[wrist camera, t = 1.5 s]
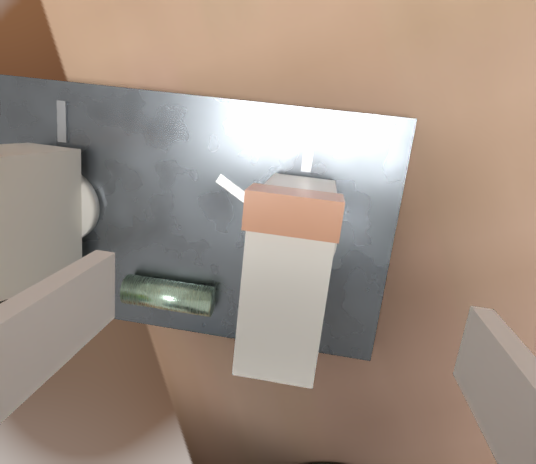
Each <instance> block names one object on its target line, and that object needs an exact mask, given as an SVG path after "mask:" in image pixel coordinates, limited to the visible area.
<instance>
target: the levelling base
mask: <svg viewBox="0 0 536 464" xmlns="http://www.w3.org/2000/svg"><path fill="white" fill-rule="evenodd" d="M416 122H417V119H414V118H404V117H395V116H385V115H376V114H367V113H357V112H348V111H338V110H329V109H320V108H310V107H301V106H291V105H282V104H273V103H263V102H254V101H245V100H235V99H226V98H216V97H207V96H198V95H188V94H179V93H169V92H160V91H151V90H141V89H132V88H122V87H113V86H104V85H94V84H85V83H75V82H66V81H57V80H47V79H38V78H28V77H18V76H9V75H0V144H13V143H35V144H43V145H51V146H60V147H68V148H76V149H81V175H82V176H84V177H85V178H86V179H87V180H88V181H89V182H90V184H91V185H92V186H93V188H94V190H95V192H96V194H97V197H98V200H99V207H100V212H99V218H98V221H97V224H96V225H95V227H94V228H93V230H92V231H91V232H90V233H89V234H87V235H86V236H84V237H82V257H84V256H86V255H88V254H90V253H91V252H93V251H95V250H101V251H108V252H114V253H115V318H114V319H119V320H125V321H131V322H137V323H143V324H149V325H155V326H161V327H167V328H173V329H179V330H185V331H192V332H198V333H204V334H210V335H216V336H222V337H228V338H234V339H235V338H236V327H237V317H238V306H239V296H240V285H241V275H242V265H243V254H244V244H245V233H246V231H244V230H241V227H242V216H243V205H244V195H245V189H247V188H248V187H249V186H250V185H251V184H253V183H259V184H264V183H265V182H266V181H267V180H268V179H269V178H270V177H271V176H272V175H273V174H275V173H279V174H287V175H295V176H303V177H311V178H319V179H327V180H335V183H336V189H337V193H339V194H343V196H344V200H345V207H344V214H343V220H342V226H341V233H340V239H339V244H338V243H337V247H336V251H335V254H334V256H333V261H332V268H331V274H330V281H329V287H328V293H327V300H326V306H325V313H324V319H323V326H322V332H321V339H320V345H319V351H318V352H319V353H325V354H331V355H337V356H343V357H349V358H355V359H361V360H368V361H370V360H371V355H372V350H373V345H374V340H375V334H376V329H377V324H378V319H379V314H380V308H381V303H382V298H383V293H384V288H385V283H386V277H387V272H388V267H389V262H390V257H391V251H392V246H393V241H394V236H395V231H396V226H397V220H398V215H399V210H400V205H401V200H402V195H403V189H404V184H405V179H406V174H407V169H408V163H409V158H410V153H411V148H412V143H413V138H414V132H415V127H416Z"/></svg>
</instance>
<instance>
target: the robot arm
mask: <svg viewBox="0 0 536 464" xmlns="http://www.w3.org/2000/svg"><path fill="white" fill-rule="evenodd" d="M114 318H115V253H114V252H108V251H101V250H95V251H93V252H91V253H90V254H88V255H86V256H84V257H82V258H81V259H79V260H77V261H75V262H74V263H72V264H70V265H68V266H66V267H65V268H63V269H61V270H59V271H58V272H56V273H54V274H52V275H50V276H49V277H47V278H45V279H43V280H42V281H40V282H38V283H36V284H34V285H33V286H31V287H29V288H27V289H25V290H24V291H22V292H20V293H18V294H17V295H15V296H13V297H11V298H9V299H7V300H3V301H0V424H1V423H2V422H3V421H4V420H5V419H6V418H7V417H8V416H10V415H11V414H12V412H14V411H15V410H16V409H17V408H18V407H19V406H20V405H21V404H22V403H24V402H25V401H26V400H27V399H28V398H29V397H30V396H31V395H32V394H33V393H34V392H35V391H36V390H37V389H39V388H40V387H41V386H42V385H43V384H44V383H45V382H46V381H47V380H48V379H49V378H50V377H51V376H53V374H55V373H56V372H57V371H58V370H59V369H60V368H61V367H62V366H63V365H64V364H65V363H67V361H69V360H70V359H71V358H72V357H73V356H74V355H75V354H76V353H77V352H78V351H79V350H80V349H82V348H83V347H84V346H85V345H86V344H87V343H88V342H89V341H90V340H91V339H92V338H93V337H94V336H96V335H97V333H99V332H100V331H101V330H102V329H103V328H104V327H105V326H106V325H107V324H108V323H109V322H111V321H112V320H113V319H114ZM453 375H454V377H455V379H456V381H457V383H458V385H459V387H460V389H461V391H462V393H463V395H464V397H465V399H466V401H467V403H468V405H469V407H470V409H471V411H472V413H473V415H474V417H475V419H476V421H477V423H478V425H479V427H480V429H481V431H482V433H483V435H484V437H485V440H486V442H487V444H488V446H489V448H490V450H491V452H492V454H493V456H494V458H495V460H496V462H497V464H536V357H535V356H534V355H533V354H532V352H531V351H530V350H529V349H528V348H527V347H526V346H525V344H524V343H523V342H522V341H521V340H520V339H519V338H518V336H517V335H516V334H515V333H514V332H513V331H512V330H511V329H510V327H509V326H508V325H507V324H506V323H505V322H504V321H503V319H502V318H501V317H500V316H499V315H498V314H497V313H496V312H495V310H494V309H489V308H482V307H476V306H470V310H469V314H468V318H467V322H466V325H465V329H464V333H463V337H462V341H461V345H460V349H459V352H458V356H457V360H456V364H455V368H454V372H453ZM314 464H333V463H314Z"/></svg>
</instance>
